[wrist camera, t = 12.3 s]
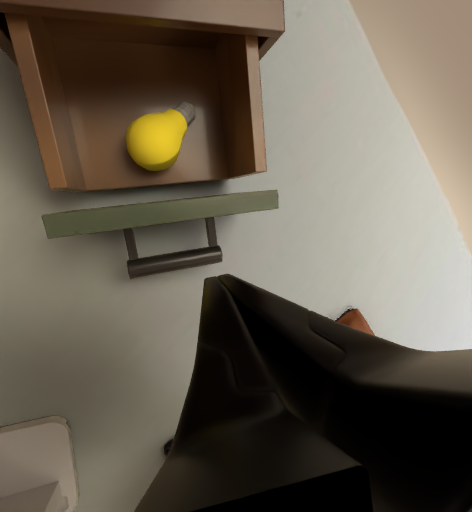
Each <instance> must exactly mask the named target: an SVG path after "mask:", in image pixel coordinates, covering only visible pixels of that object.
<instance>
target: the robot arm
mask: <svg viewBox="0 0 472 512" xmlns="http://www.w3.org/2000/svg"><path fill="white" fill-rule="evenodd" d="M168 448H170V449H168ZM164 453H165V455H166V457H167V458H166V460H165V462H164V464H163V466H162V467H161V469H160V470H159V472H158V474H157V475H156V477H155V478H154V480H153V482H152V483H151V485H150V486H149V488H148V490H147V491H146V493H145V495H144V496H143V498H142V499H141V501H140V503H139V504H138V506H137V507H136V509H135V511H134V512H472V349H468V350H454V351H437V352H433V351H422V350H416V349H411V348H408V347H404V346H401V345H399V344H396V343H393V342H390V341H388V340H385V339H382V338H379V337H376V336H374V335H371V334H368V333H365V332H363V331H360V330H357V329H354V328H352V327H349V326H347V325H344V324H341V323H339V322H336V321H334V320H331V319H329V318H327V317H324V316H322V315H320V314H317V313H315V312H313V311H309V310H308V309H306V308H304V307H302V306H299V305H297V304H295V303H293V302H291V301H288V300H286V299H284V298H282V297H279V296H277V295H275V294H273V293H270V292H268V291H266V290H264V289H262V288H259V287H257V286H255V285H253V284H250V283H248V282H246V281H244V280H241V279H239V278H237V277H235V276H233V275H230V274H224V275H219V276H218V277H216V276H214V277H210V278H205V280H204V288H203V297H202V306H201V316H200V325H199V334H198V343H197V351H196V358H195V364H194V369H193V373H192V378H191V382H190V386H189V389H188V392H187V396H186V399H185V403H184V406H183V410H182V413H181V417H180V420H179V424H178V427H177V430H176V434H175V437H174V439H173V440H172V441H170V442H168V443H167V444H166V445H165V446H164Z"/></svg>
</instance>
